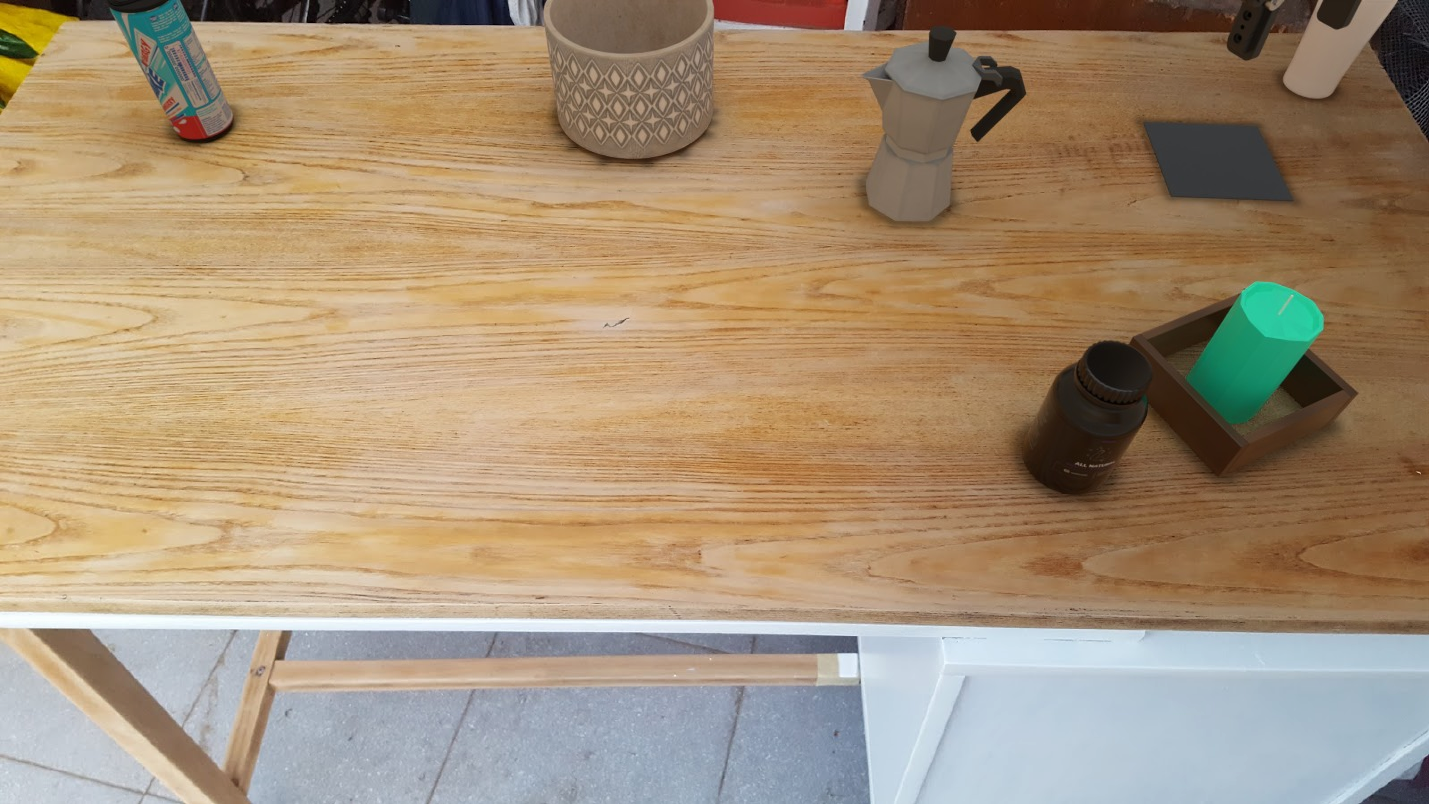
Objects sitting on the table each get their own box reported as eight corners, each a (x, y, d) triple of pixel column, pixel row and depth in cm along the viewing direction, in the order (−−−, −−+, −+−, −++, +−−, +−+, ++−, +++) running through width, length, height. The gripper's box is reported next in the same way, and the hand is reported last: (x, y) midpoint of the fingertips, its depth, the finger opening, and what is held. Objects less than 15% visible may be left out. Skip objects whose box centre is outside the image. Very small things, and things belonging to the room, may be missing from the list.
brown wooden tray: (1221, 327, 84) (1244, 290, 80) (1328, 427, 77) (1359, 393, 74) (1113, 372, 81) (1132, 336, 77) (1215, 480, 74) (1241, 447, 70)
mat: (1254, 130, 101) (1257, 125, 100) (1291, 205, 94) (1294, 200, 93) (1141, 126, 101) (1143, 121, 101) (1168, 200, 94) (1171, 195, 93)
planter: (729, 87, 105) (731, -24, 95) (690, 181, 95) (688, 69, 85) (588, 64, 107) (576, -46, 97) (536, 154, 97) (517, 42, 87)
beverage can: (182, 113, 101) (112, -23, 89) (239, 108, 102) (178, -27, 90) (172, 147, 98) (97, 12, 86) (231, 142, 98) (166, 6, 86)
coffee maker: (846, 228, 91) (873, 61, 77) (838, 169, 96) (861, 3, 82) (1000, 227, 91) (1056, 61, 77) (983, 169, 97) (1032, 3, 82)
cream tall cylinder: (1277, 101, 104) (1351, -31, 92) (1270, 66, 108) (1340, -65, 96) (1342, 110, 103) (1425, -22, 91) (1333, 75, 107) (1411, -56, 95)
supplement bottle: (1072, 514, 72) (1128, 421, 62) (1002, 456, 75) (1045, 359, 66) (1126, 467, 75) (1188, 370, 65) (1056, 413, 78) (1106, 313, 68)
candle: (1167, 379, 80) (1231, 278, 70) (1226, 360, 81) (1296, 258, 71) (1214, 434, 76) (1287, 335, 67) (1274, 413, 77) (1354, 313, 68)
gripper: (1379, -185, 49) (1252, 92, 62) (1559, -233, 53) (1405, 37, 66) (1266, -227, 54) (1168, 40, 66) (1439, -269, 58) (1316, -9, 70)
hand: (1286, 38), depth 66 cm, fingers open, 8 cm apart
